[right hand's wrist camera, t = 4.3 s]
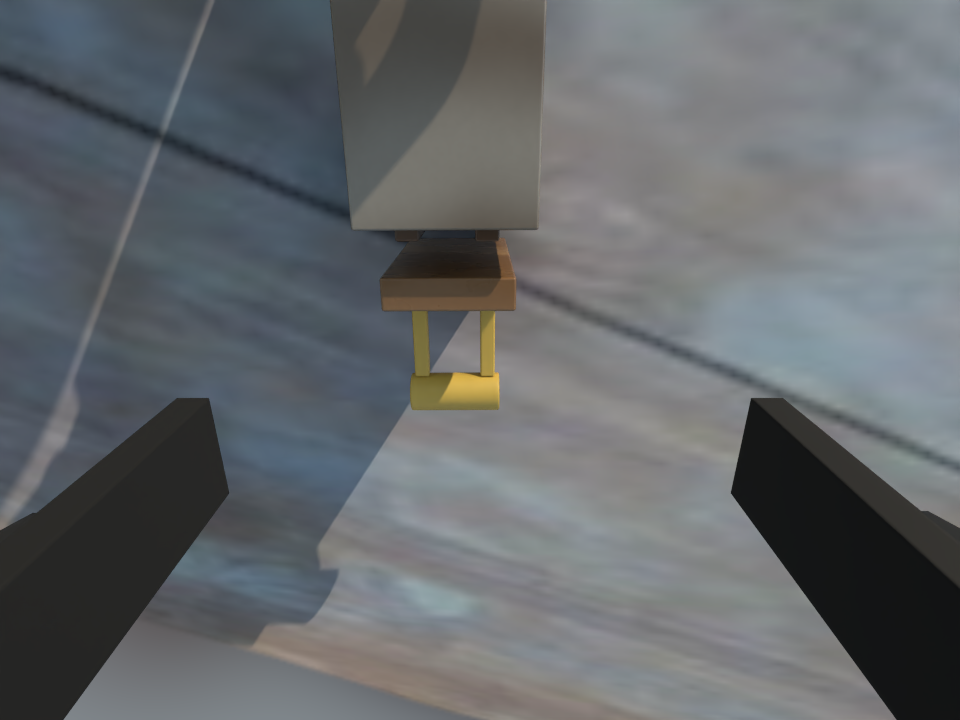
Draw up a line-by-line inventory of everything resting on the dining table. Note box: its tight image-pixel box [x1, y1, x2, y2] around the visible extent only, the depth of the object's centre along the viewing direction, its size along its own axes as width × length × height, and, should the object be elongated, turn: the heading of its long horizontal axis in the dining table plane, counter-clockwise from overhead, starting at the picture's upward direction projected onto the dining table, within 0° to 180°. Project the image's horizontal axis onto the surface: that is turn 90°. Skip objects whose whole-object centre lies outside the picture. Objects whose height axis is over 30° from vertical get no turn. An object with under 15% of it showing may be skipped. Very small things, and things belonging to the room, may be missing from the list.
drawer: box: [380, 230, 516, 410], centre depth 20 cm, size 25×5×9 cm, turn 0°
